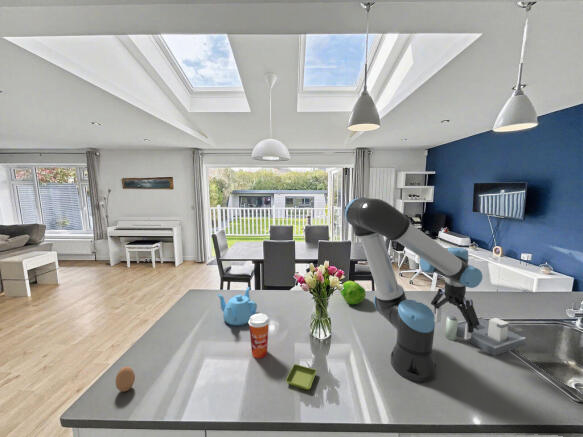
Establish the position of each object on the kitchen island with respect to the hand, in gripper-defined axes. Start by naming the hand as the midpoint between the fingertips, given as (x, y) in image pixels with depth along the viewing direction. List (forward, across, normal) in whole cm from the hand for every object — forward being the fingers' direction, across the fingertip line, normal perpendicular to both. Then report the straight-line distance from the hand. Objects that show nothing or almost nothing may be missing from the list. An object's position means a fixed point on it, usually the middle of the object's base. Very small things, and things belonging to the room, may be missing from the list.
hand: (451, 329), depth 106 cm
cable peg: (+4, 0, 0) cm, 4 cm away
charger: (+4, -9, -15) cm, 18 cm away
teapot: (+3, +48, +87) cm, 100 cm away
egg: (+3, +15, +127) cm, 128 cm away
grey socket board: (+4, -5, -15) cm, 16 cm away
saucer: (+4, 0, +71) cm, 71 cm away
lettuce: (+4, +46, +21) cm, 51 cm away
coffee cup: (+3, +18, +82) cm, 84 cm away
